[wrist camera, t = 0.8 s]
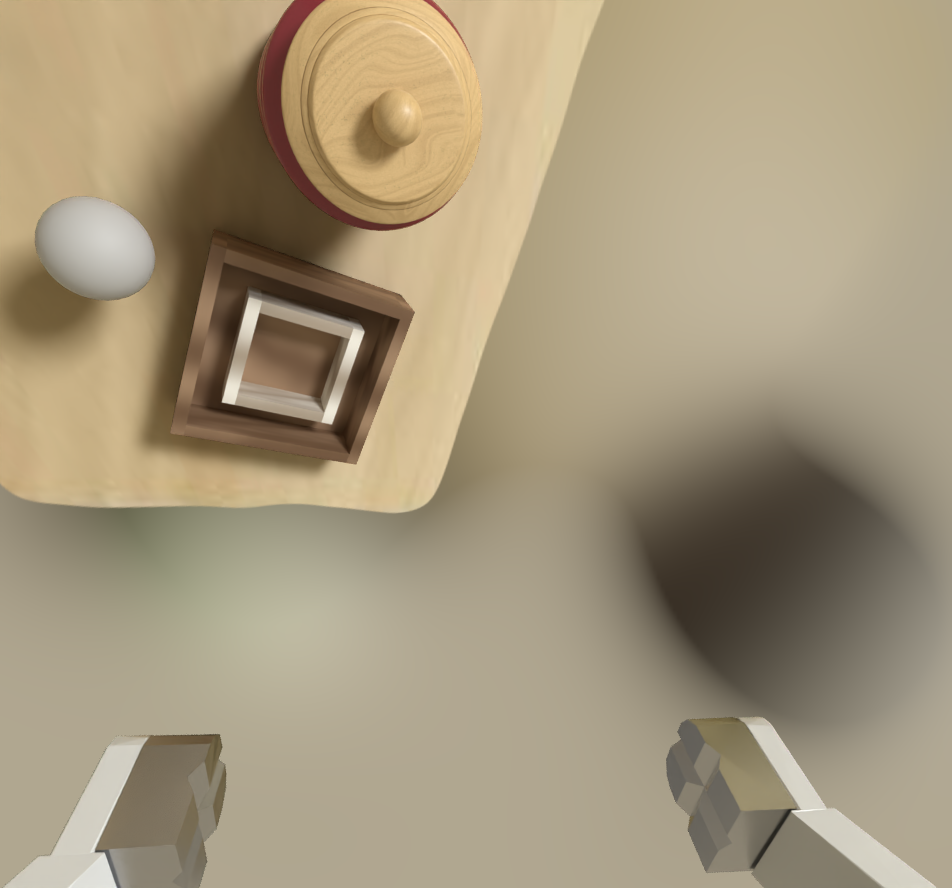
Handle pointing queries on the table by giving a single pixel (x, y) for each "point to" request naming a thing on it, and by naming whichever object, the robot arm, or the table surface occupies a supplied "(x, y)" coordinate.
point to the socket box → (287, 354)
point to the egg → (94, 248)
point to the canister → (371, 108)
